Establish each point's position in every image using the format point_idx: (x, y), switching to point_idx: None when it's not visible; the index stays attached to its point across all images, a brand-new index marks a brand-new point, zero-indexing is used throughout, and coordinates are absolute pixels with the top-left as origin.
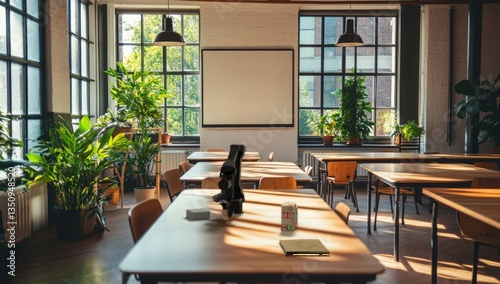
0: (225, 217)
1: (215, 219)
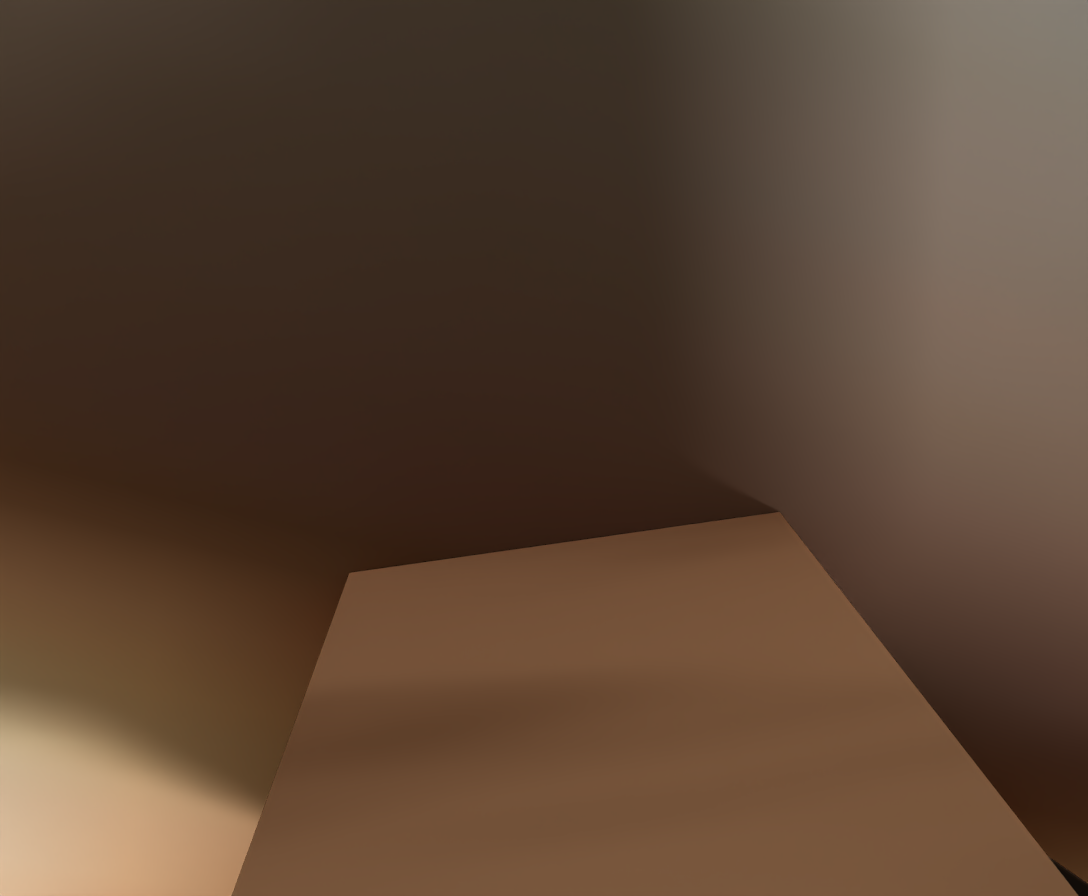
0: (325, 662)
1: (718, 178)
